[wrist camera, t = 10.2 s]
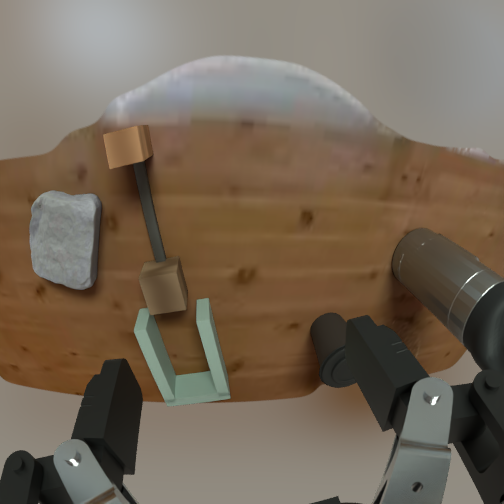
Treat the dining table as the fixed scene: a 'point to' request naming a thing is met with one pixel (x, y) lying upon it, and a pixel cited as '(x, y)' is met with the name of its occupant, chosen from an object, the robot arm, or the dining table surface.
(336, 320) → the coffee cup
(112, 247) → the dining table surface
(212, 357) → the channel
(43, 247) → the stone block
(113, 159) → the wooden cube dumbbell
